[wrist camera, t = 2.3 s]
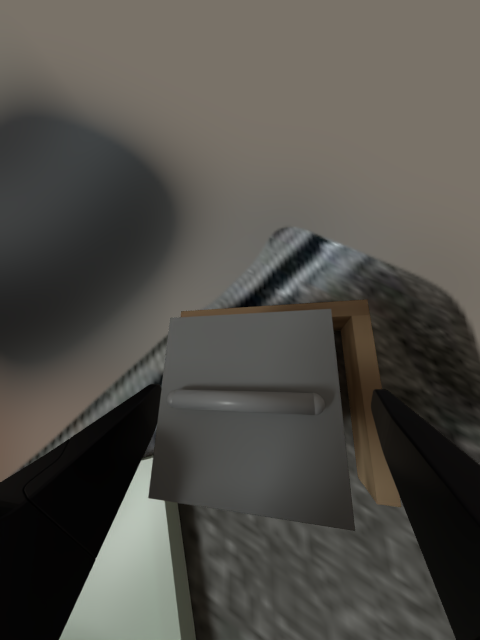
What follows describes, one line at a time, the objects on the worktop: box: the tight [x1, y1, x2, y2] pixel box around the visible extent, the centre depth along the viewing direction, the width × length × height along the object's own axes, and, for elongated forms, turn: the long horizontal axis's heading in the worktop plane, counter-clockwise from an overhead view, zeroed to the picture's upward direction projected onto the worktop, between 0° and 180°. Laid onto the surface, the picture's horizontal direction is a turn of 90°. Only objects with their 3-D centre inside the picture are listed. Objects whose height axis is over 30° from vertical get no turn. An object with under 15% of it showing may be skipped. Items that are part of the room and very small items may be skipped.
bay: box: [181, 300, 401, 507], centre depth 15 cm, size 10×12×4 cm
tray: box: [59, 455, 196, 640], centre depth 15 cm, size 12×12×2 cm
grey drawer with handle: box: [148, 309, 355, 531], centre depth 11 cm, size 6×6×11 cm
